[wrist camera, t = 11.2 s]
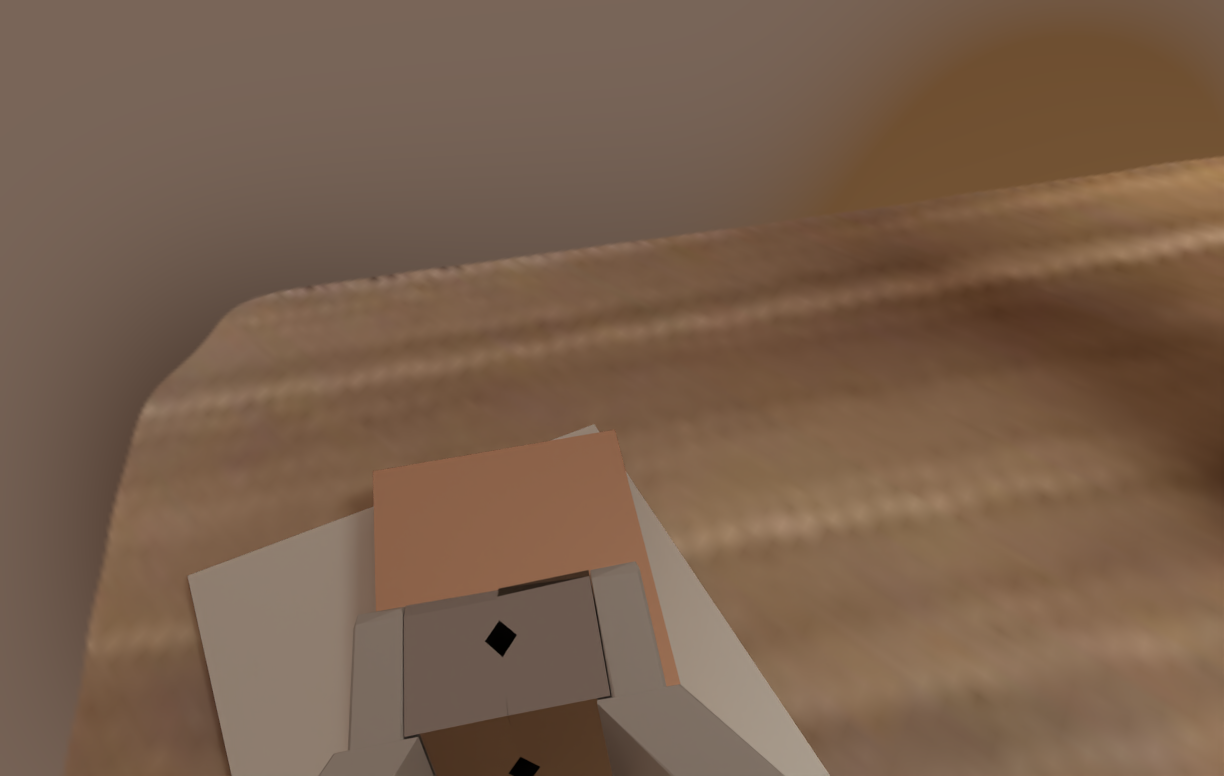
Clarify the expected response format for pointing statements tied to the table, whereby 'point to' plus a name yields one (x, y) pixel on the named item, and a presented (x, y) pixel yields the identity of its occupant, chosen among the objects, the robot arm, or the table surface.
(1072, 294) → the table surface
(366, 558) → the mat
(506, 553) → the tile
